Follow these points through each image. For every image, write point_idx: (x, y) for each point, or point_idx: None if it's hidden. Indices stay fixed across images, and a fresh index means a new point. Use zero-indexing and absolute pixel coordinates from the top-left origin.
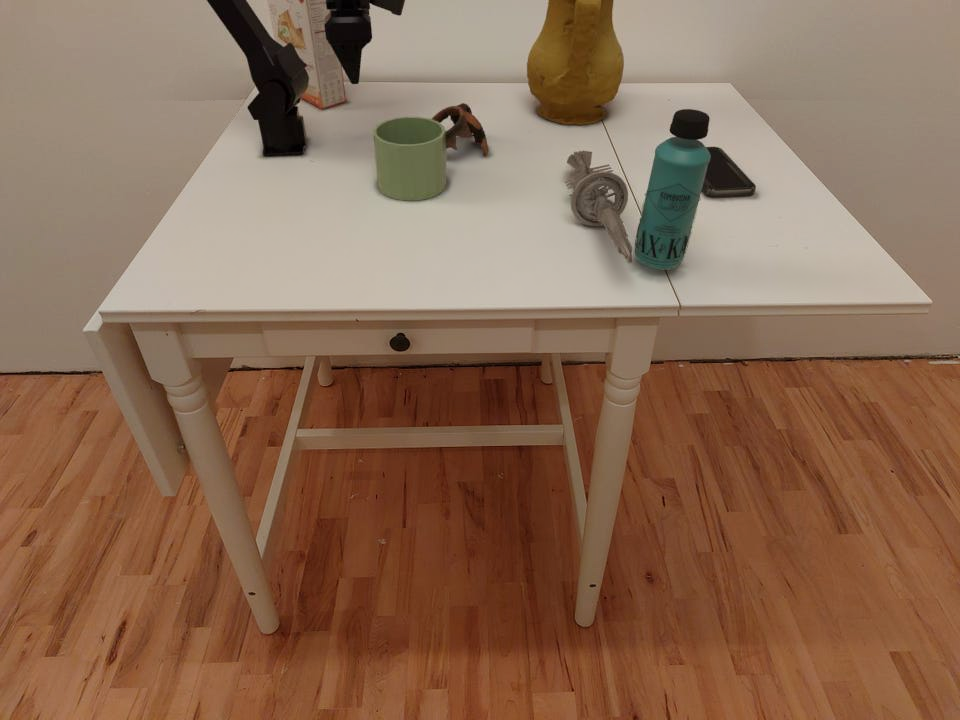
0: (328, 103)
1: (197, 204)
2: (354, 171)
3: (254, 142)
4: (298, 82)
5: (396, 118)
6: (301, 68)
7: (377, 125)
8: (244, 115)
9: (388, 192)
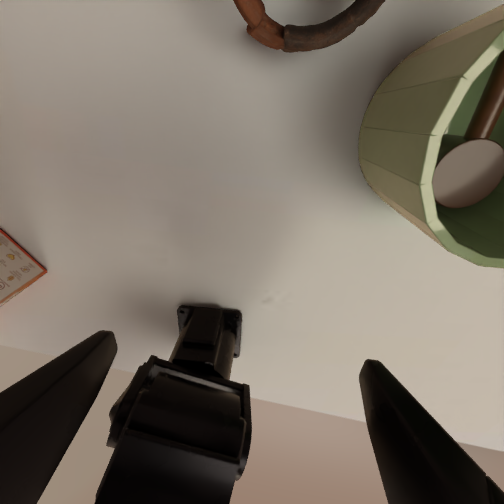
0: (28, 263)
1: (352, 408)
2: (327, 243)
3: None
4: (205, 427)
5: (431, 180)
6: (163, 446)
7: (455, 250)
8: None
9: None
